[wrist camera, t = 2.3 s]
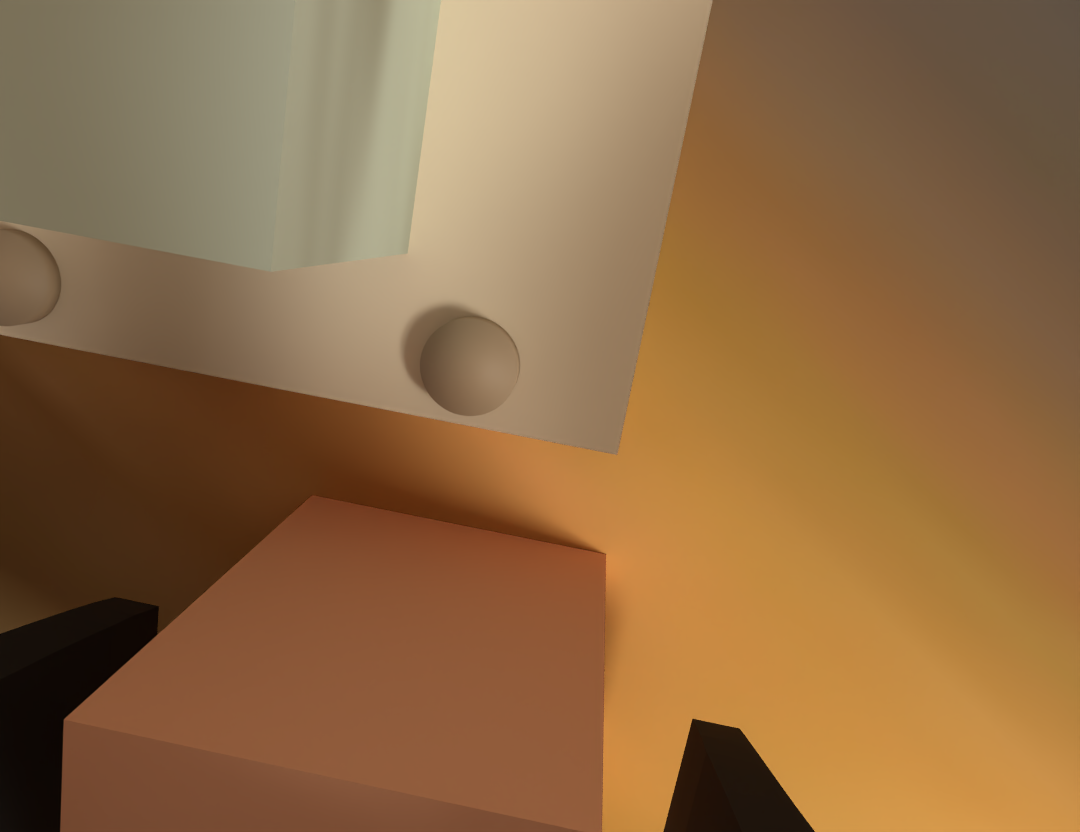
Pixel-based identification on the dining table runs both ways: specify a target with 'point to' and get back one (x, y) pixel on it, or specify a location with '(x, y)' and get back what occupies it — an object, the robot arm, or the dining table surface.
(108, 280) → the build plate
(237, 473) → the dining table surface
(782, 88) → the dining table surface
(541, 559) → the terracotta block
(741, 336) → the dining table surface
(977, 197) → the dining table surface
